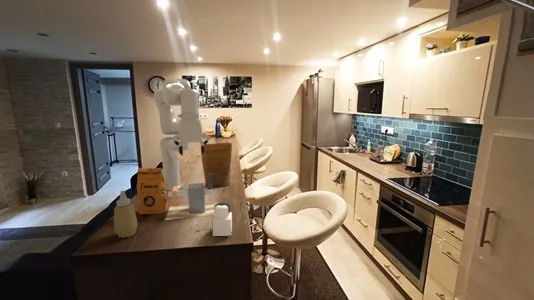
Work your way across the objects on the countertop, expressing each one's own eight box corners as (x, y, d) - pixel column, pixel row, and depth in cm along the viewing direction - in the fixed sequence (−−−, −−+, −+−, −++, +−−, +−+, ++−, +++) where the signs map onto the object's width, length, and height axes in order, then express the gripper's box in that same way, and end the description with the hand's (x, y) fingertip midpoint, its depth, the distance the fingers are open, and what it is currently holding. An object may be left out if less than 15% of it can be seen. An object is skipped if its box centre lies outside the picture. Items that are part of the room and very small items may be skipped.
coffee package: (162, 217, 113) (159, 170, 109) (136, 216, 113) (131, 170, 109) (171, 208, 123) (168, 165, 119) (146, 208, 123) (143, 165, 119)
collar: (174, 200, 119) (173, 186, 118) (179, 200, 119) (178, 186, 118) (172, 206, 112) (171, 191, 111) (177, 206, 112) (176, 191, 111)
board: (170, 207, 123) (170, 205, 123) (218, 203, 129) (218, 201, 129) (165, 222, 108) (165, 219, 108) (220, 216, 114) (220, 214, 113)
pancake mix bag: (233, 186, 156) (232, 143, 151) (202, 188, 153) (200, 143, 148) (232, 183, 163) (231, 141, 158) (203, 184, 159) (201, 142, 155)
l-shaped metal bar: (169, 195, 115) (167, 175, 114) (213, 192, 120) (212, 173, 118) (168, 197, 113) (167, 177, 111) (213, 193, 118) (212, 174, 116)
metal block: (190, 207, 122) (189, 183, 119) (204, 205, 123) (204, 182, 121) (189, 213, 114) (188, 189, 112) (204, 212, 116) (203, 188, 113)
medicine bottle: (214, 228, 102) (214, 201, 100) (232, 227, 103) (231, 200, 101) (212, 237, 95) (211, 208, 93) (231, 236, 96) (230, 207, 94)
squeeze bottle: (114, 242, 92) (109, 196, 89) (115, 232, 99) (111, 189, 96) (138, 237, 95) (134, 192, 92) (138, 228, 102) (134, 186, 99)
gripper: (168, 117, 105) (171, 157, 108) (210, 117, 109) (211, 155, 112) (170, 116, 112) (173, 154, 115) (209, 116, 116) (211, 152, 119)
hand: (192, 154), depth 114 cm, fingers open, 8 cm apart
